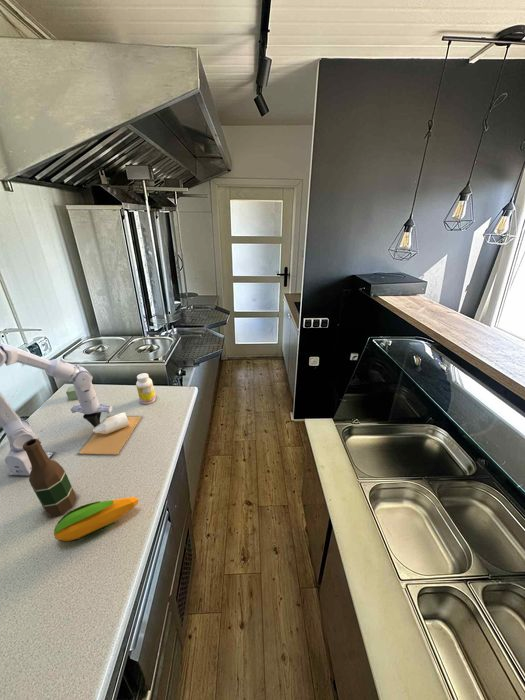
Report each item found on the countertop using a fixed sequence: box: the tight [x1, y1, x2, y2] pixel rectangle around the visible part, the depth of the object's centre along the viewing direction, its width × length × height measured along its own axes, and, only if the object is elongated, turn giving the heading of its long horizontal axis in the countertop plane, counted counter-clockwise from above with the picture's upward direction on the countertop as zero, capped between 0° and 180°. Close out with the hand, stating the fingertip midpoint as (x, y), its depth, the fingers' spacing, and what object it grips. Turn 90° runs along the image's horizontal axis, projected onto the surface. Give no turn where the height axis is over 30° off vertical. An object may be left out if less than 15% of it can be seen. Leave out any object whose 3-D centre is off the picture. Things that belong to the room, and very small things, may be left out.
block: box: [65, 385, 78, 401], centre depth 131 cm, size 4×4×4 cm
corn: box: [53, 496, 139, 543], centre depth 76 cm, size 7×8×20 cm
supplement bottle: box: [135, 372, 157, 405], centre depth 126 cm, size 7×7×13 cm
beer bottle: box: [23, 438, 77, 517], centre depth 78 cm, size 8×8×24 cm
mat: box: [78, 416, 142, 456], centre depth 109 cm, size 20×14×1 cm
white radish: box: [92, 412, 129, 434], centre depth 109 cm, size 6×12×6 cm, turn 127°
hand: (97, 426), depth 110 cm, fingers closed
